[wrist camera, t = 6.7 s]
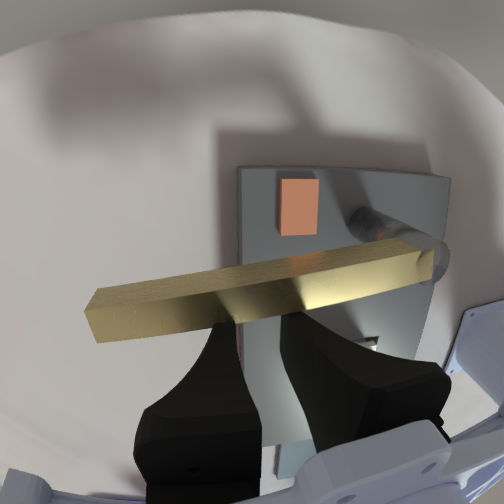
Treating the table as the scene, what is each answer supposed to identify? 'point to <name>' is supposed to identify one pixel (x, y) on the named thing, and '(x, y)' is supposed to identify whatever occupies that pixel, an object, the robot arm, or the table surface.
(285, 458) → the mat
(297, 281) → the brass flat bar
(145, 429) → the robot arm
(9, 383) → the table surface
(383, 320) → the grey panel
